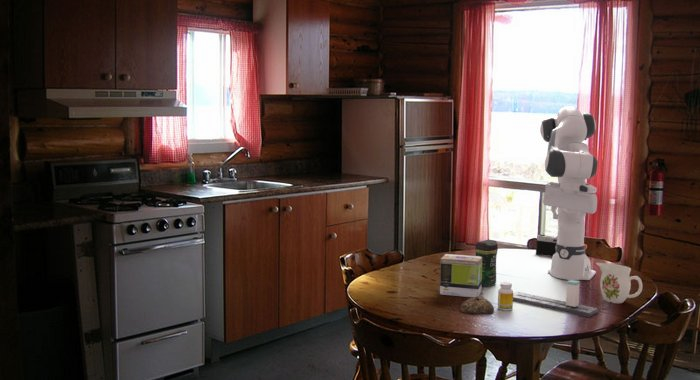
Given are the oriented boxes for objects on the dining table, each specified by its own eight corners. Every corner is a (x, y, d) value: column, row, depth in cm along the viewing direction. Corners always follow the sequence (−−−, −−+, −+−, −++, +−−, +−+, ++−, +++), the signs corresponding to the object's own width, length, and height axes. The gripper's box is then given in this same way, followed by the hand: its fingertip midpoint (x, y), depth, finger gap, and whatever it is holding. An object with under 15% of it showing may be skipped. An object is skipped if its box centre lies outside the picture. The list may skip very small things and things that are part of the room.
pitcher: (636, 309, 270) (638, 273, 268) (588, 300, 281) (590, 265, 279) (645, 302, 279) (647, 267, 277) (598, 294, 290) (600, 260, 288)
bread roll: (494, 316, 260) (494, 302, 259) (459, 313, 262) (459, 300, 261) (493, 306, 272) (494, 293, 272) (460, 303, 275) (460, 291, 274)
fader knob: (569, 303, 270) (570, 279, 268) (578, 305, 267) (579, 281, 266) (565, 305, 267) (567, 281, 266) (574, 307, 265) (576, 282, 264)
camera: (569, 255, 358) (570, 235, 357) (561, 259, 351) (562, 238, 350) (542, 251, 367) (543, 232, 365) (534, 254, 360) (535, 234, 358)
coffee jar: (486, 288, 296) (488, 243, 293) (470, 284, 301) (472, 240, 299) (499, 284, 303) (501, 240, 300) (483, 280, 308) (484, 237, 306)
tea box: (481, 292, 290) (483, 255, 288) (477, 299, 280) (479, 261, 278) (444, 288, 295) (445, 252, 293) (439, 294, 285) (440, 257, 283)
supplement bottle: (494, 307, 269) (495, 282, 268) (507, 306, 271) (508, 281, 270) (502, 311, 264) (503, 285, 263) (515, 310, 266) (516, 284, 265)
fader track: (517, 295, 286) (517, 291, 286) (597, 312, 265) (597, 308, 265) (507, 299, 280) (507, 295, 280) (588, 317, 259) (589, 312, 259)
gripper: (542, 181, 280) (538, 216, 281) (594, 189, 267) (589, 226, 269) (550, 181, 285) (545, 216, 286) (601, 189, 272) (595, 225, 273)
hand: (567, 221), depth 277 cm, fingers open, 8 cm apart
